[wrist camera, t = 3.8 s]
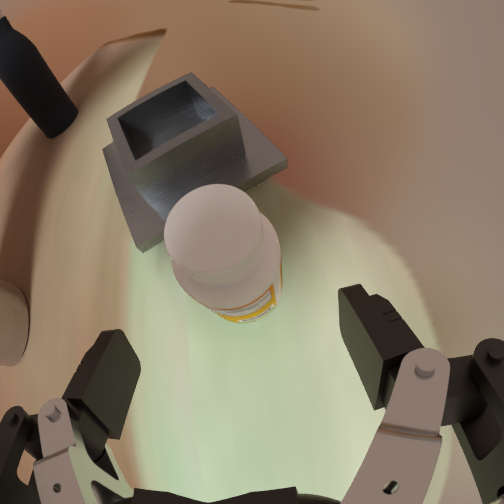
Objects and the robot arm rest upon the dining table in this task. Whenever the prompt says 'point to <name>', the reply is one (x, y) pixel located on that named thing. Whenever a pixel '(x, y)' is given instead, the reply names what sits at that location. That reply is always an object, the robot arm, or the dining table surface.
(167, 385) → the dining table surface
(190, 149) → the square socket
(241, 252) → the supplement bottle
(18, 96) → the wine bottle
